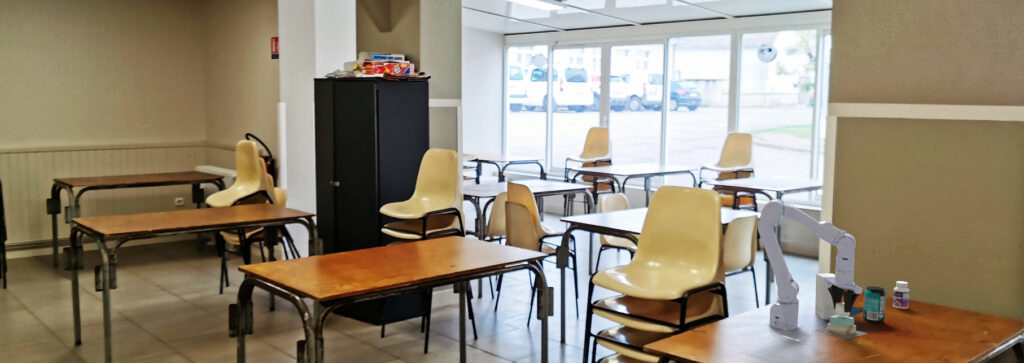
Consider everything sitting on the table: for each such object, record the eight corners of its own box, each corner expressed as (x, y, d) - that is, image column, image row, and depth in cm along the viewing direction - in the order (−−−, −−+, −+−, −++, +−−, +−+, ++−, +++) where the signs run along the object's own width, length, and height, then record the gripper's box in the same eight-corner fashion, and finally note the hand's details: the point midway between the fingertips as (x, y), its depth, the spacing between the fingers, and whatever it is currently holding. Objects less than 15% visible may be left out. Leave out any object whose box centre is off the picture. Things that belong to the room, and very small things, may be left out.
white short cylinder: (844, 316, 274) (845, 306, 273) (832, 313, 277) (833, 303, 277) (852, 314, 276) (852, 304, 276) (840, 312, 280) (840, 302, 279)
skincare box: (840, 320, 293) (842, 277, 292) (821, 320, 293) (823, 277, 292) (831, 314, 302) (833, 272, 300) (813, 314, 302) (815, 272, 300)
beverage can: (880, 319, 297) (882, 286, 295) (887, 324, 290) (889, 290, 288) (860, 318, 297) (861, 285, 296) (866, 323, 290) (868, 290, 289)
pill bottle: (889, 306, 316) (891, 281, 315) (900, 305, 318) (902, 280, 317) (900, 309, 311) (901, 284, 310) (911, 308, 313) (913, 283, 312)
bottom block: (844, 335, 273) (844, 328, 272) (826, 331, 278) (827, 323, 278) (855, 332, 276) (856, 325, 276) (838, 328, 282) (838, 321, 281)
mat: (846, 340, 269) (846, 339, 269) (814, 331, 279) (814, 330, 279) (867, 334, 276) (867, 333, 276) (835, 326, 286) (835, 325, 286)
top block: (844, 327, 273) (844, 320, 273) (829, 323, 278) (829, 316, 277) (853, 325, 276) (854, 318, 276) (839, 321, 281) (839, 314, 281)
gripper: (870, 273, 270) (868, 314, 271) (838, 265, 283) (836, 304, 285) (853, 275, 267) (850, 316, 269) (822, 266, 281) (820, 305, 282)
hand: (842, 310), depth 277 cm, fingers closed on white short cylinder, 4 cm apart
